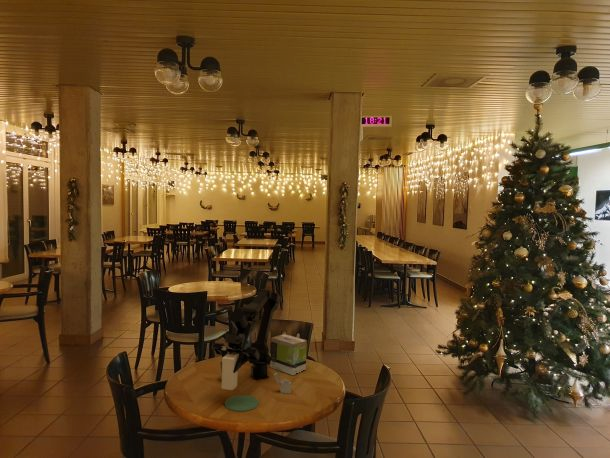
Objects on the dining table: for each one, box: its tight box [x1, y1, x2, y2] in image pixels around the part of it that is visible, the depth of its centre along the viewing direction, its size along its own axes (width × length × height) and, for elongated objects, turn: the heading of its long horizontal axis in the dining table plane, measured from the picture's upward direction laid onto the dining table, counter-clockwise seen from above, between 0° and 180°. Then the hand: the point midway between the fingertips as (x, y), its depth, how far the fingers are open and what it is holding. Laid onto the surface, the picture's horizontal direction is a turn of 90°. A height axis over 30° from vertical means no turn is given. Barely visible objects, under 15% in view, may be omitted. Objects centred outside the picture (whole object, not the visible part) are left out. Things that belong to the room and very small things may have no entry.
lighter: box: [273, 372, 292, 394], centre depth 180 cm, size 7×2×8 cm, turn 86°
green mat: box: [224, 394, 260, 412], centre depth 168 cm, size 13×13×1 cm
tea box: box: [269, 333, 308, 376], centre depth 206 cm, size 15×10×15 cm
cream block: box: [221, 353, 239, 391], centre depth 166 cm, size 4×4×12 cm
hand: (228, 371), depth 165 cm, fingers closed on cream block, 4 cm apart
